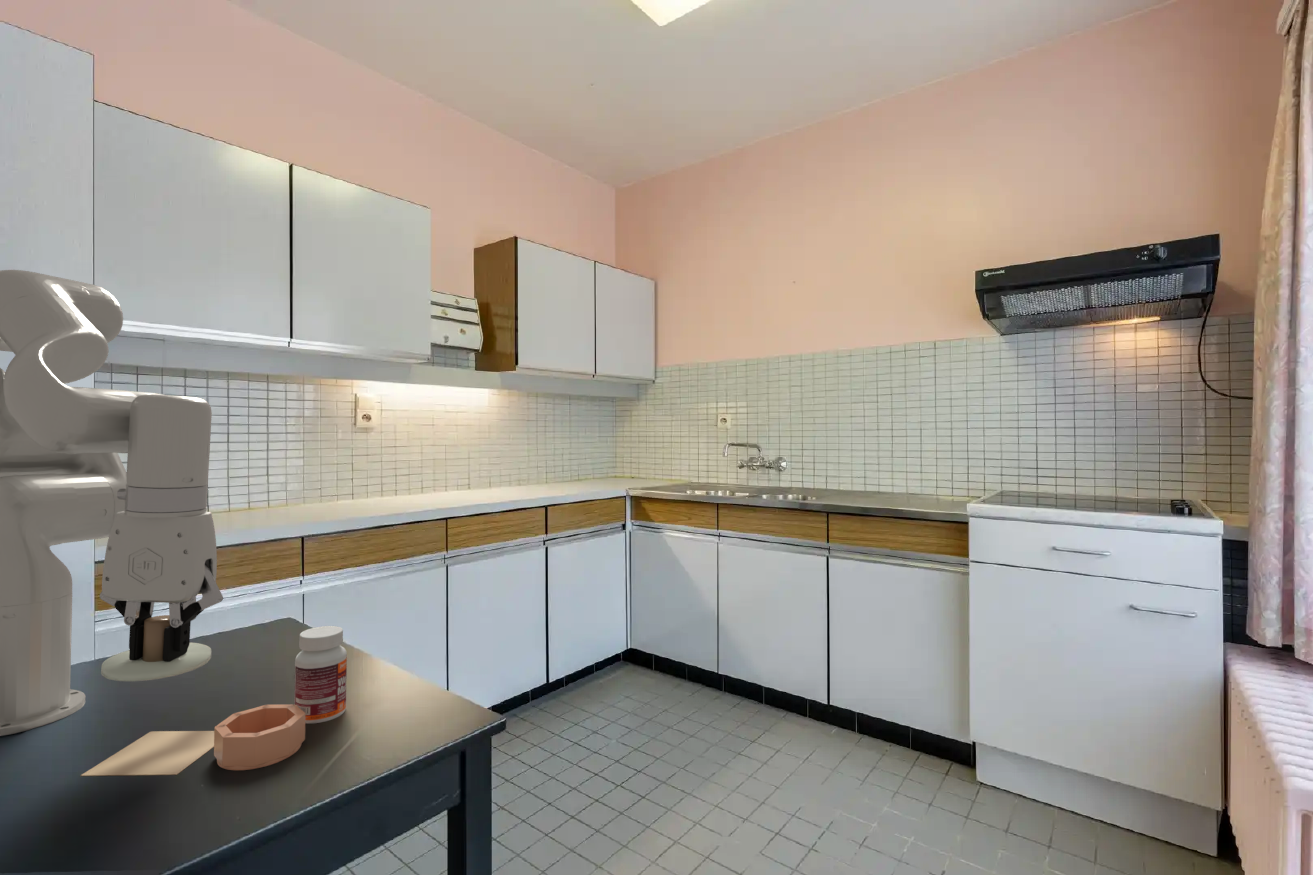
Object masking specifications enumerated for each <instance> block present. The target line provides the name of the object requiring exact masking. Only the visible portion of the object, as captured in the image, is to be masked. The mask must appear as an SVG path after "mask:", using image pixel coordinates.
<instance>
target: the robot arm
mask: <svg viewBox="0 0 1313 875" xmlns="http://www.w3.org/2000/svg"><path fill="white" fill-rule="evenodd" d="M123 324H124V314H123V311H122V307H121V305H120V303H119V301H118V300H117V299H116V297H115V296H114V295H113V294H111V293H110V292H109V291H108V290H106V288H105V289H104V288H103V287H101V286H98V285H95V284H93V283H88V282H82V281H80V280H79V281H78V280H74V279H68V278H63V277H58V276H54V275H49V274H44V273H40V272H35V271H29V270H22V269H3V270H0V351H1V352H8V353H9V352H11V353H13V354H14V357H13V358H12V359H11V360H10V362H9V363H8V365H7V367H6V370H3V368H1V367H0V737H3V736H8V735H13V734H17V733H21V732H22V733H23V732H26V731H30V730H32V729H35V728H39V727H42V726H45V725H49V724H53V723H54V722H57V721H59V720H62V719H65V718H67V717H68V716H71V715H73V714H74V713H77V712H78V711H79V710H81V709H82V708H83V707H84V706H85V704H86V694H85V693H84V691H83V692H82V691H81V690H78V689H71V677H72V676H71V672H72V671H71V670H72V667H71V666H72V665H71V664H72V624H73V623H72V622H73V621H72V620H73V619H72V618H73V578H72V574H71V571H70V569H69V568H68V566H66V564H65V563H64V562H62V560H61V559H60V558H59V557H57V556H56V555H55V554H54V553H53V552H52V550H51V548H50V547H52V546H57V545H62V544H69V543H75V542H76V543H77V542H85V541H92V540H99V539H106V538H107V539H108V540H107V542H106V543H107V545H106V548H105V554H104V555H105V556H104V560H103V566H102V578H101V592H100V593H99V599H100V600H102V601H103V602H105V603H107V604H108V605H110V606H112V607H114V608H115V609H116V610H117V612H119V613H120V615H121V616H123V622H124V624H125V625H126V626H129V636H128V640H129V641H128V650H130V653H129V659H130V660H138V659H140V658H142V654H143V637H144V620H146V619H147V618H150V617H153V614H154V607H155V603H162V604H164V603H165V604H166V603H167V604H168V609H169V610H168V612H169V614H168V615H169V616H170V626H169V627H166V628H165V629H164V640H163V660H164V661H166V662H170V661H172V660H174V659H176V658H178V657H180V656H182V655H184V654H185V653H186V652H187V650H188V647H189V643H191V642H190V641H191V639H190V638H191V623H192V621H194V620H195V619H196V618H197V616H199V615H200V614H201V613H202V612H203V611H204V610H206V609H208V608H211V607H212V606H215V605H217V604H219V603H221V602H222V601H223V600H224V597H223V594H222V592H221V590H220V588H219V586H218V584H217V573H218V572H217V571H218V568H217V566H218V565H217V564H218V559H217V558H218V556H217V555H218V553H217V538H216V531H215V524H214V519H213V515H212V511H207V506H208V505H207V504H208V488H209V485H208V484H209V471H210V470H209V468H210V452H211V434H212V433H211V431H212V415H213V414H212V413H213V410H212V407H211V405H210V404H209V402H208V401H206V400H205V399H202V398H201V397H195V396H185V395H172V394H163V393H156V392H149V391H148V392H145V391H135V390H134V391H132V390H124V389H114V388H113V389H112V388H111V389H110V388H97V387H83V386H82V387H81V386H80V387H79V386H69V385H67V384H70V383H73V382H77V381H80V380H82V379H85V378H87V377H89V376H91V375H93V374H94V373H96V372H97V371H98V370H100V368H101V367H103V365H104V364H105V363H106V360H107V359H108V355H109V345H108V344H109V343H110V342H112V341H113V340H114V339H116V338H117V336H118V335H119V333H121V331H122V327H123ZM119 454H127V456H126V457H127V461H126V463H127V464H126V469H125V465H124V464H123V461H122V460H121V457H120V455H119ZM198 595H201V596H202V597H201V599H199V600H197V596H198Z"/></svg>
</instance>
